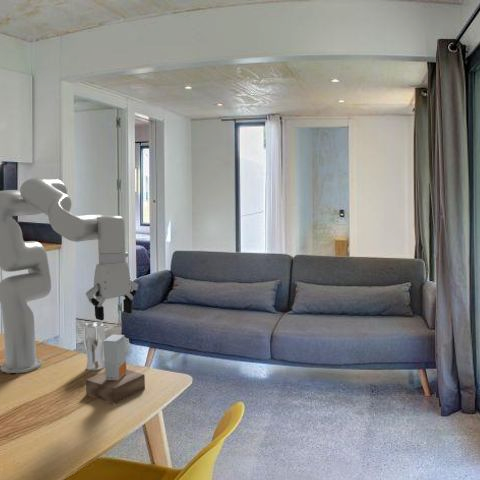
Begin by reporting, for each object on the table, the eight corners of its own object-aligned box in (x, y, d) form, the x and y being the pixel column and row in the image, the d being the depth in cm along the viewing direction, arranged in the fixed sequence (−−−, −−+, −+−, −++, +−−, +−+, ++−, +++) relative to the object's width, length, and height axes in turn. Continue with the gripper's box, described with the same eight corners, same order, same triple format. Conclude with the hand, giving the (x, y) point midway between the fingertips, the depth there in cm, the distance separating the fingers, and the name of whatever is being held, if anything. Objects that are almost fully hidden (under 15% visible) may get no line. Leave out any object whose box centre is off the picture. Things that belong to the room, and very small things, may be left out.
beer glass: (94, 372, 159) (93, 328, 158) (80, 368, 163) (78, 325, 161) (110, 366, 165) (109, 323, 164) (96, 362, 169) (94, 320, 167)
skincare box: (118, 381, 141) (116, 341, 139) (105, 380, 141) (102, 341, 140) (127, 372, 146) (124, 334, 145) (114, 372, 147) (111, 334, 146)
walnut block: (86, 395, 143) (85, 379, 142) (116, 382, 153) (116, 366, 152) (115, 405, 136) (114, 388, 136) (144, 390, 146) (144, 374, 146)
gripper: (128, 254, 149) (130, 308, 151) (78, 260, 136) (80, 320, 138) (144, 256, 144) (145, 312, 146) (93, 263, 131) (95, 324, 133)
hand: (114, 316), depth 142 cm, fingers open, 9 cm apart
